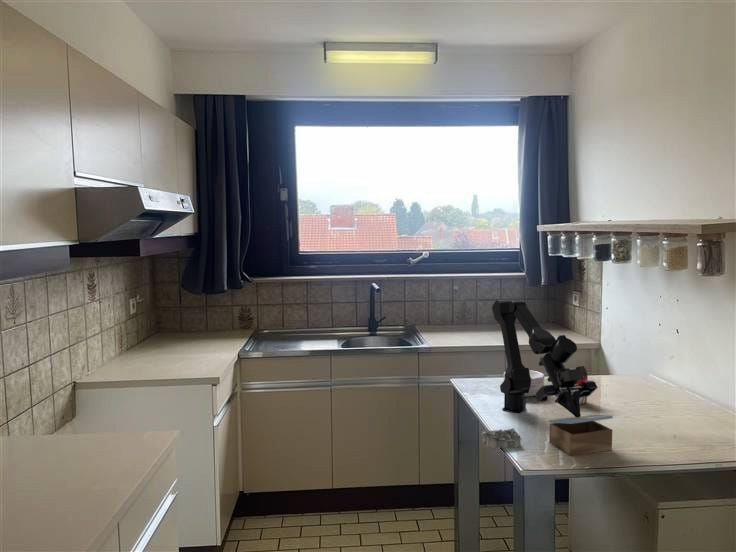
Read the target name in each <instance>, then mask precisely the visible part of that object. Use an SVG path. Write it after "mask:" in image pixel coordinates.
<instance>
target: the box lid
mask: <svg viewBox="0 0 736 552" xmlns="http://www.w3.org/2000/svg"><path fill="white" fill-rule="evenodd" d="M609 419H614V417H613V415H610V414H609V415H606V414H587V415H586V414H585V415H581V416H580V417H575V416H565V417H562V418H561V417H560V418H555V419H553V418H552V419H548V423H549V424H550V423H565V424H573V423H581V422H589V421H595V422H597V421H602V420H603V421H604V420H609Z"/></svg>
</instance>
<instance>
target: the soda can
mask: <svg viewBox="0 0 736 552" xmlns="http://www.w3.org/2000/svg"><path fill="white" fill-rule="evenodd" d="M569 369H570V370H571V369H576V367H575V368H574V367H573V368H569ZM577 381H578V383H577V384H575V385H574V387H575V386H579V385H580V384H581V383H582V382H583V381H589V377H588V375H587V376H585V377H584V379H583V380H582V379H580V380H577ZM587 401H588V397H581V398H580V397H579V405H583V404H584V403H587Z"/></svg>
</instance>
